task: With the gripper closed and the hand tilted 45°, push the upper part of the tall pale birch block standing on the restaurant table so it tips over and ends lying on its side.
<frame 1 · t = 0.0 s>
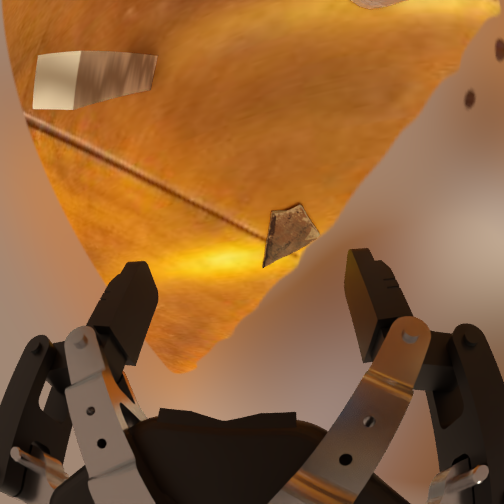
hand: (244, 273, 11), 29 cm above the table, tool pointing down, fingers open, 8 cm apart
birch block: (137, 71, 30), on the table
shard: (291, 234, 45), on the table
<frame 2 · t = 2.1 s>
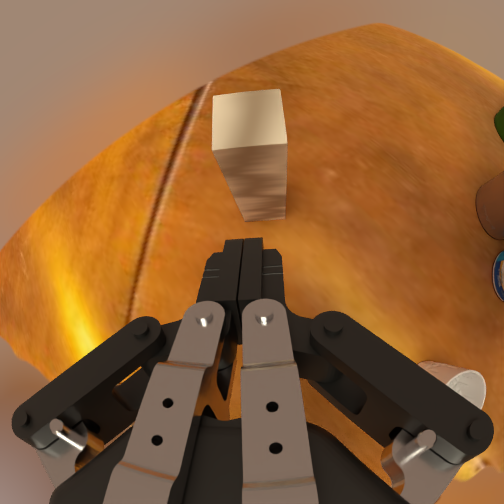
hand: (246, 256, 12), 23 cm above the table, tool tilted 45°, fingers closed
birch block: (263, 201, 36), on the table
white cup: (421, 383, 30), on the table
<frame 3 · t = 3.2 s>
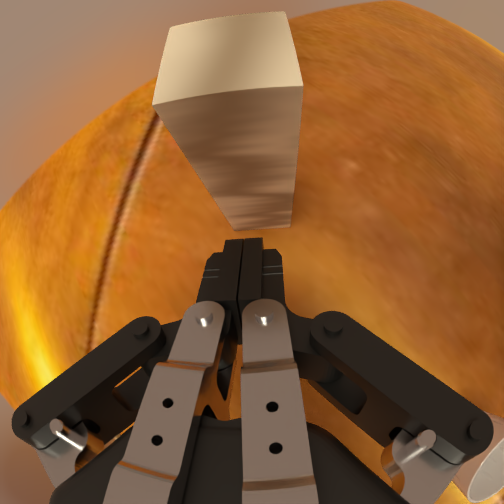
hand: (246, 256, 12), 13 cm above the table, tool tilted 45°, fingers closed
birch block: (260, 202, 26), on the table
white cup: (452, 431, 20), on the table
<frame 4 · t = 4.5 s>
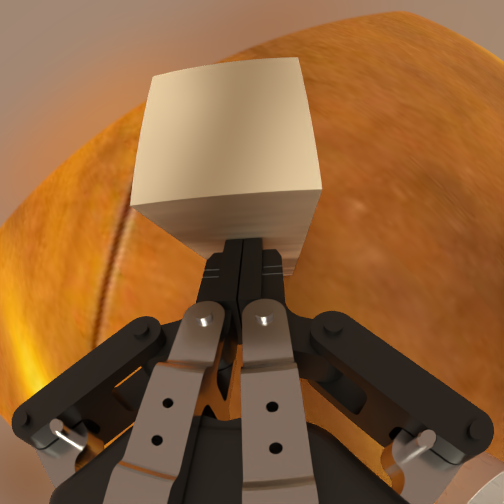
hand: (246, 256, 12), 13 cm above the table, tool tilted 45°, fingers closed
birch block: (261, 248, 25), on the table, touching gripper
white cup: (444, 463, 19), on the table
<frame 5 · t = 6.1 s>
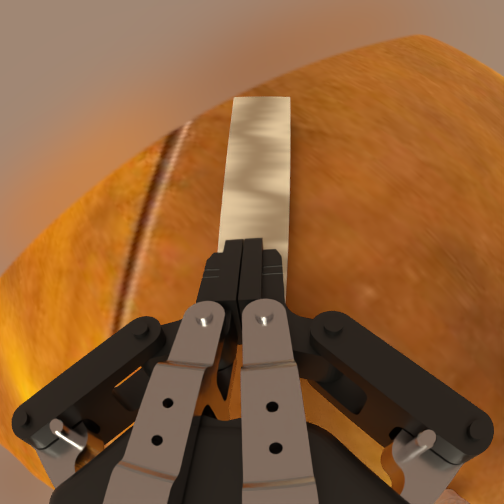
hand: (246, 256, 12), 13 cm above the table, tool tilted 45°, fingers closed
birch block: (252, 308, 22), point 2 cm above the table, tilted 90°
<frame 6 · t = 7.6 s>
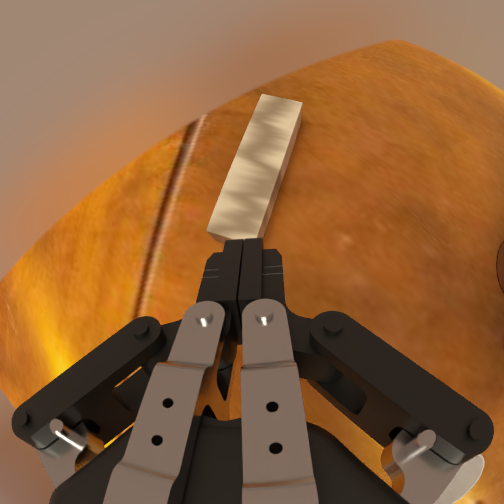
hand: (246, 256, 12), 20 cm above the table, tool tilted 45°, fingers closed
birch block: (233, 243, 30), point 2 cm above the table, tilted 90°
white cup: (423, 449, 26), on the table
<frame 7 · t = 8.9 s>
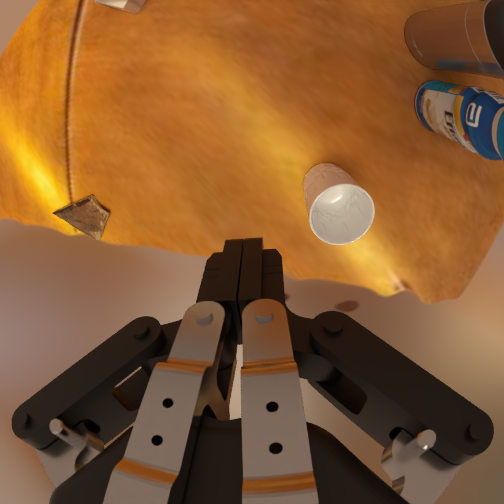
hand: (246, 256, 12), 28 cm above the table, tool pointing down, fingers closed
birch block: (116, 7, 23), point 2 cm above the table, tilted 90°
beverage bottle: (434, 105, 31), on the table
shard: (87, 218, 44), on the table
white cup: (325, 183, 40), on the table
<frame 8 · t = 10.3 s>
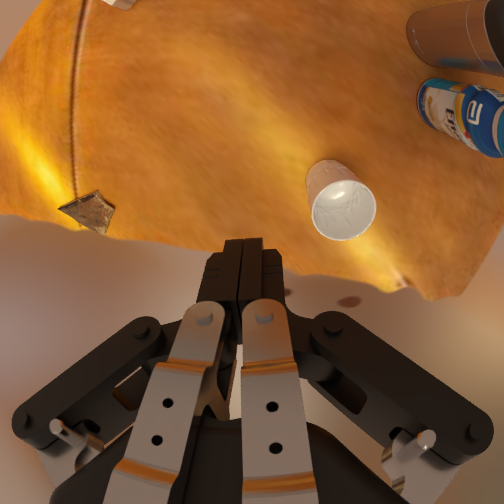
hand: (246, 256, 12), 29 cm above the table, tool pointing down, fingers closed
birch block: (109, 1, 22), point 2 cm above the table, tilted 90°
beverage bottle: (436, 103, 31), on the table
shard: (92, 213, 45), on the table
white cup: (327, 180, 40), on the table
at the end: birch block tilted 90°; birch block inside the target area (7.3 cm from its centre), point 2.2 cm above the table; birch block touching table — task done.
